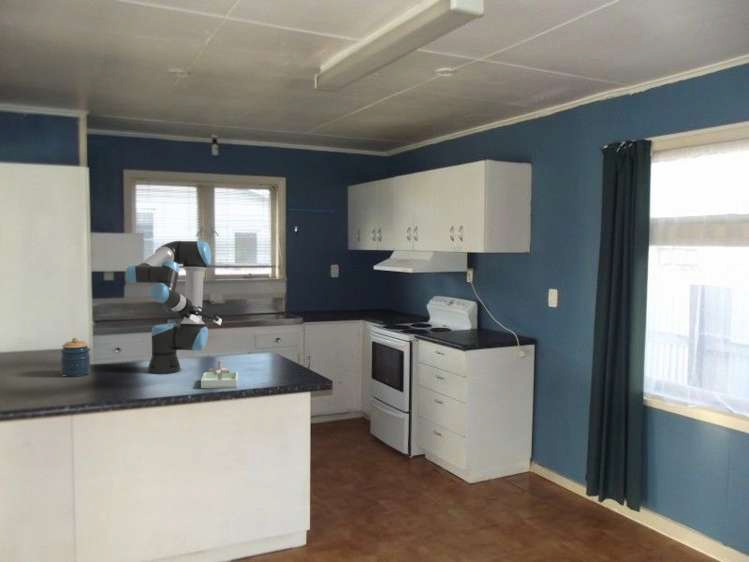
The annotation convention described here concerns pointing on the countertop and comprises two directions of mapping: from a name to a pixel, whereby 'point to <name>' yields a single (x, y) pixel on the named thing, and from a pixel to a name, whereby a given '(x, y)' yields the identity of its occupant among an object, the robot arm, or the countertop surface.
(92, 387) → the countertop surface
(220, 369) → the pipe connector
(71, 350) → the canister
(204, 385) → the tray
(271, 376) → the countertop surface
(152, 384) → the countertop surface
